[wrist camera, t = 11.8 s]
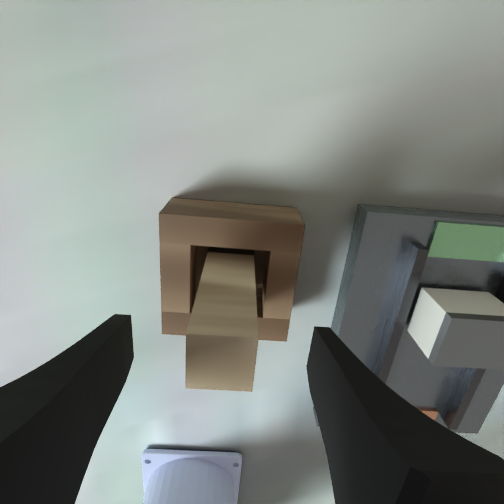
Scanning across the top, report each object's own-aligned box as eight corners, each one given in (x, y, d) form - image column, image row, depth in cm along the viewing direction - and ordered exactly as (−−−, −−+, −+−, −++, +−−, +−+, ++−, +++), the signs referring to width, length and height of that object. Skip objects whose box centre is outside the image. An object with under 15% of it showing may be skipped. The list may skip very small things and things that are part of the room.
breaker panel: (465, 415, 26) (486, 446, 23) (313, 408, 25) (320, 438, 23) (559, 220, 19) (602, 235, 17) (358, 204, 19) (374, 217, 16)
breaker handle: (470, 334, 20) (505, 369, 17) (407, 330, 20) (433, 365, 17) (488, 292, 19) (529, 323, 16) (421, 287, 19) (451, 318, 16)
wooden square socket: (281, 311, 21) (286, 341, 19) (172, 304, 21) (162, 333, 18) (296, 207, 19) (305, 224, 16) (172, 197, 18) (158, 213, 16)
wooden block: (249, 286, 20) (252, 391, 12) (208, 283, 20) (185, 388, 12) (253, 247, 19) (258, 338, 11) (209, 244, 19) (186, 333, 11)
